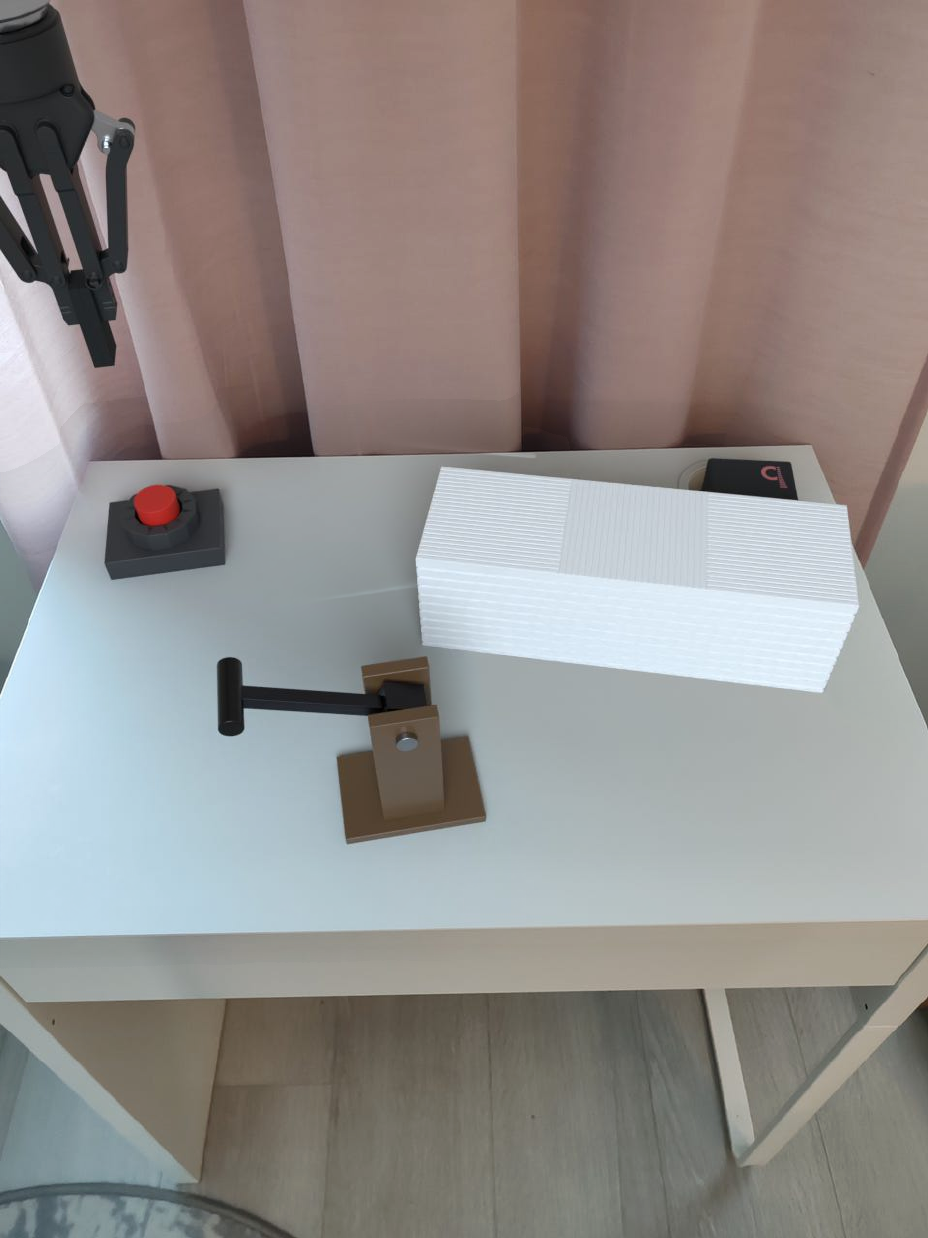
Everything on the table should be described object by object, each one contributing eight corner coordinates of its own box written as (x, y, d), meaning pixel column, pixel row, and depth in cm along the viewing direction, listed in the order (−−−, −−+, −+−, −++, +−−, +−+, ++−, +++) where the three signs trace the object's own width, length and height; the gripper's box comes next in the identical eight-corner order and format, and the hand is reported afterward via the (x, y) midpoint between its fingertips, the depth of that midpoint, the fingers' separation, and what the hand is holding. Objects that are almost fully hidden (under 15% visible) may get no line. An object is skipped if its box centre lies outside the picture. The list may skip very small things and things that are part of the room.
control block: (111, 580, 88) (97, 548, 85) (115, 519, 93) (103, 487, 90) (225, 565, 89) (216, 532, 86) (223, 505, 94) (214, 473, 91)
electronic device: (707, 580, 87) (717, 539, 83) (699, 498, 94) (708, 457, 90) (794, 585, 86) (808, 544, 83) (779, 502, 93) (792, 461, 90)
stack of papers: (422, 649, 82) (415, 558, 74) (445, 558, 89) (441, 465, 81) (820, 697, 78) (859, 606, 70) (812, 598, 85) (846, 504, 77)
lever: (214, 740, 60) (221, 716, 58) (213, 675, 63) (219, 651, 62) (421, 750, 65) (432, 728, 63) (410, 689, 68) (421, 667, 66)
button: (138, 529, 87) (132, 514, 86) (139, 502, 90) (134, 487, 88) (179, 523, 88) (175, 509, 86) (180, 496, 90) (175, 482, 89)
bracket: (347, 848, 71) (325, 747, 61) (338, 766, 75) (316, 660, 65) (486, 825, 72) (486, 722, 62) (468, 745, 76) (466, 638, 66)
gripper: (-140, 43, 55) (11, 395, 73) (100, 25, 57) (191, 375, 74) (-113, -2, 60) (23, 338, 78) (108, -18, 62) (192, 320, 79)
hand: (105, 356), depth 76 cm, fingers closed
